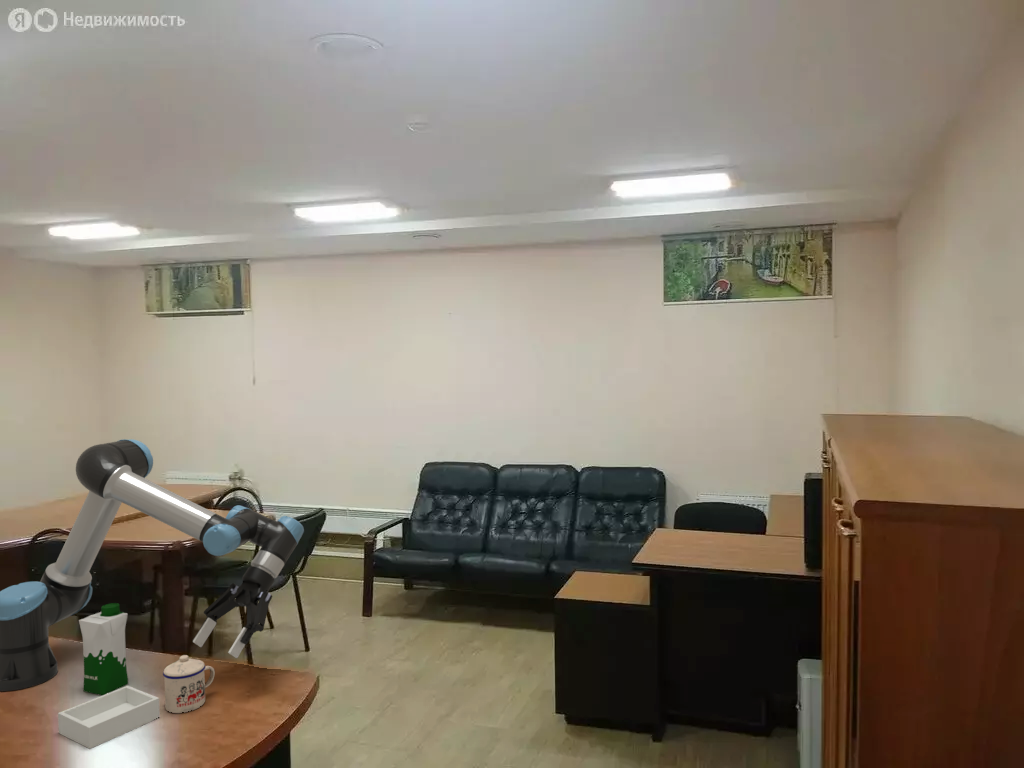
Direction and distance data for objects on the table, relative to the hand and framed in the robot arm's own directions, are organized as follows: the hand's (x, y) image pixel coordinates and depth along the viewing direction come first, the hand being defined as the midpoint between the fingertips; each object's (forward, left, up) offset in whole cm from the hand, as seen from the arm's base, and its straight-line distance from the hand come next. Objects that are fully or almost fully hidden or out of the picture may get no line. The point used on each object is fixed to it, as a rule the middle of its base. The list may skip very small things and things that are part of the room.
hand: (214, 650), depth 179 cm
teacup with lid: (-1, -6, -11) cm, 13 cm away
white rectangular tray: (-7, -22, -11) cm, 25 cm away
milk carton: (-27, -12, -11) cm, 31 cm away
